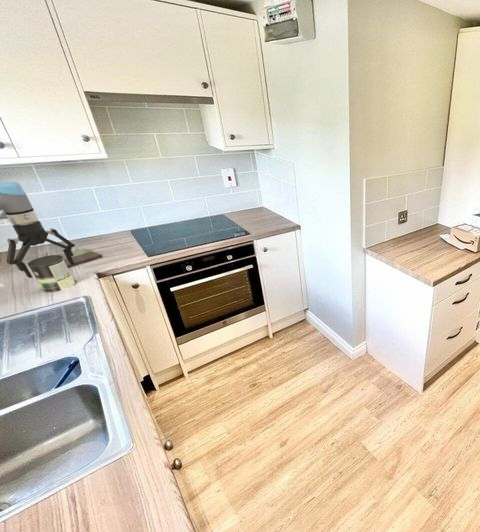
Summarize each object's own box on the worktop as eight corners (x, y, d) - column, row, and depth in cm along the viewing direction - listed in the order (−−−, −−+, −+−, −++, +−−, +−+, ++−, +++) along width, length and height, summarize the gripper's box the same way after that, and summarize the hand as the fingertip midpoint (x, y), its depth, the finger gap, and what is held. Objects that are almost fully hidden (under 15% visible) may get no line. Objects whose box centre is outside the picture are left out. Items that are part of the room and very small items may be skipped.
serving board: (52, 273, 151) (51, 270, 151) (36, 265, 157) (35, 262, 157) (102, 257, 168) (101, 254, 167) (86, 250, 174) (85, 248, 173)
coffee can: (45, 298, 133) (29, 268, 127) (42, 289, 139) (26, 260, 132) (78, 288, 140) (64, 259, 134) (74, 280, 146) (60, 252, 139)
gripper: (-18, 234, 114) (14, 285, 124) (70, 215, 134) (92, 260, 144) (-26, 230, 117) (6, 280, 127) (61, 212, 137) (83, 256, 147)
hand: (51, 270), depth 135 cm, fingers open, 13 cm apart
